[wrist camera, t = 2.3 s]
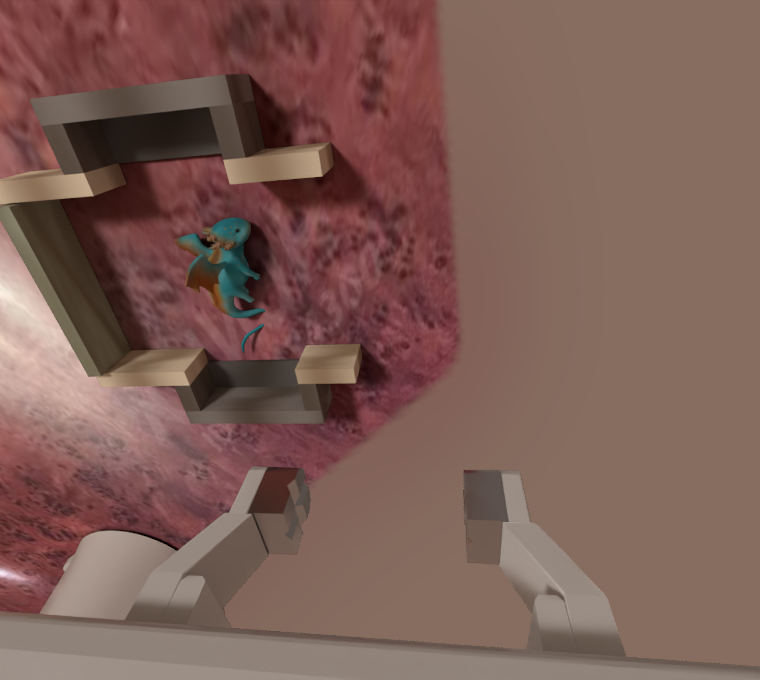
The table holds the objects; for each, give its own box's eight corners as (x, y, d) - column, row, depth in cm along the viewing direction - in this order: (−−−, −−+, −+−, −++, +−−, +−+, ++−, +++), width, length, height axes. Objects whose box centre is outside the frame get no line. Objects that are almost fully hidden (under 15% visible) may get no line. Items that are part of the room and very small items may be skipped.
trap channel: (319, 65, 22) (301, 64, 19) (368, 396, 33) (361, 428, 30) (-3, 105, 25) (-62, 110, 22) (143, 398, 36) (117, 428, 33)
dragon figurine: (332, 306, 28) (242, 225, 23) (254, 380, 29) (147, 319, 23) (302, 264, 33) (220, 188, 28) (235, 329, 34) (142, 268, 28)
